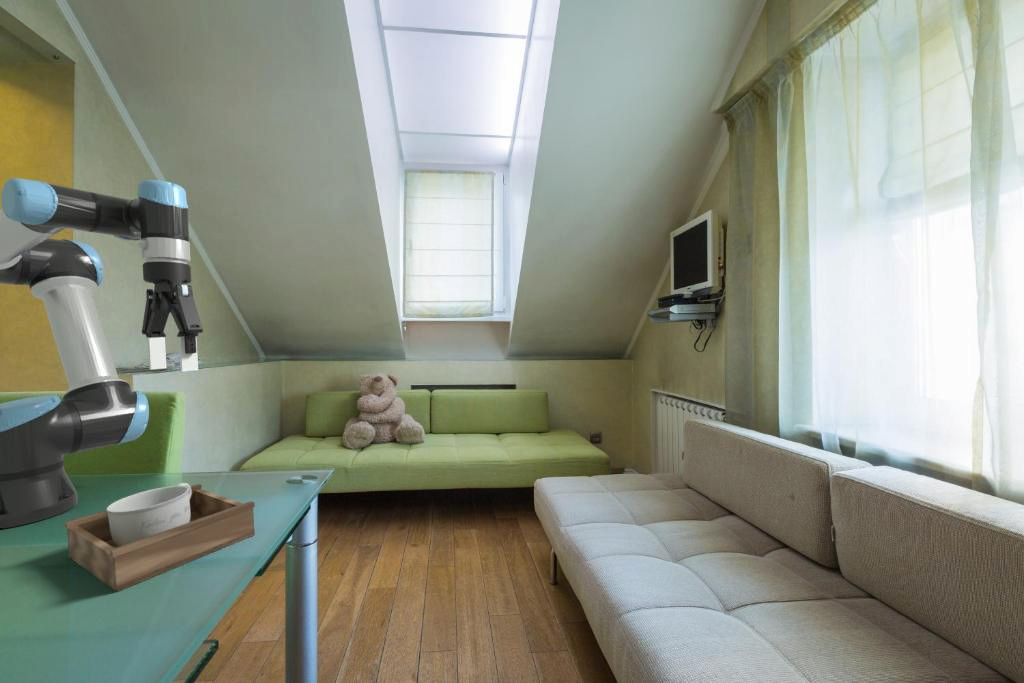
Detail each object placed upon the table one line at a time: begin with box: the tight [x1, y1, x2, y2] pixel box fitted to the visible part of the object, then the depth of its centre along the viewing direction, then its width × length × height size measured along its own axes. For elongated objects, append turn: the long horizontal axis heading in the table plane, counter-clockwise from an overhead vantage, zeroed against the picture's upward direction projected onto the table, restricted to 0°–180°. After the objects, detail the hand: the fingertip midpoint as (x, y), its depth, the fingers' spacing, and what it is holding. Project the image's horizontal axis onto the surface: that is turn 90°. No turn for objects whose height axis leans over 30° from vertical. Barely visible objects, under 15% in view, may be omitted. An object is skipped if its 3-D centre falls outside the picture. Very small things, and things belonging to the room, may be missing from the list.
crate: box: [64, 483, 256, 593], centre depth 75 cm, size 20×19×6 cm
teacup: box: [105, 482, 192, 547], centre depth 76 cm, size 14×11×8 cm
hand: (173, 370), depth 88 cm, fingers open, 13 cm apart
